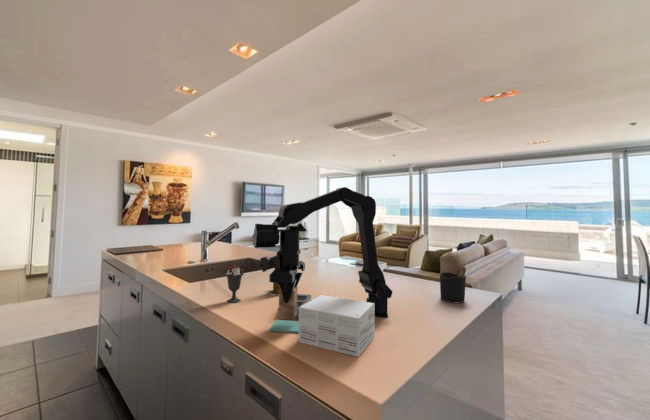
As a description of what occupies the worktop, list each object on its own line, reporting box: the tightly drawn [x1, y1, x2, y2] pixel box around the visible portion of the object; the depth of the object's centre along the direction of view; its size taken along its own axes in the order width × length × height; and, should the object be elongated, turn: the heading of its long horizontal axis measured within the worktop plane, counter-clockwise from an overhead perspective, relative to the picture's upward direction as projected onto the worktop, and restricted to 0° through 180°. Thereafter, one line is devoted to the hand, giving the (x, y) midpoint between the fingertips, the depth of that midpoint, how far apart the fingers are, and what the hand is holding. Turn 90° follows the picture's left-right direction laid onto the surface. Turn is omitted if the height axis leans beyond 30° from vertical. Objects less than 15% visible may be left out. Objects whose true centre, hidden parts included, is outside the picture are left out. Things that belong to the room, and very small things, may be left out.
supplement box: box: [297, 294, 376, 358], centre depth 74 cm, size 17×13×9 cm
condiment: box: [265, 267, 281, 297], centre depth 116 cm, size 7×8×12 cm
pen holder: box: [439, 271, 467, 303], centre depth 110 cm, size 9×9×10 cm
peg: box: [278, 286, 299, 320], centre depth 81 cm, size 4×4×8 cm
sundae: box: [224, 260, 245, 304], centre depth 104 cm, size 7×7×15 cm
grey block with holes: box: [277, 293, 312, 320], centre depth 96 cm, size 8×16×3 cm, turn 173°
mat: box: [268, 319, 299, 334], centre depth 81 cm, size 9×7×1 cm
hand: (288, 300), depth 81 cm, fingers closed on peg, 4 cm apart
